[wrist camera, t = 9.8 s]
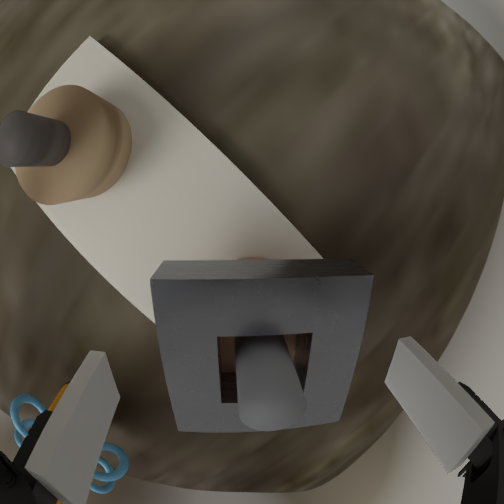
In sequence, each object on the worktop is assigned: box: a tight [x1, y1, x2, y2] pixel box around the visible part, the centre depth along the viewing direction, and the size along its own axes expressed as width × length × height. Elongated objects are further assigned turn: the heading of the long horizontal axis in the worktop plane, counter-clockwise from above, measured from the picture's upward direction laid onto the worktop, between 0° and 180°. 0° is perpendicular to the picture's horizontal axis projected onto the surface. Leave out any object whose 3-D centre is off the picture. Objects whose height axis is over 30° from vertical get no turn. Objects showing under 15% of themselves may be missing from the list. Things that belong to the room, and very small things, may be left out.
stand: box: [0, 85, 132, 205], centre depth 11 cm, size 6×6×8 cm
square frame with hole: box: [150, 258, 374, 432], centre depth 13 cm, size 9×9×2 cm
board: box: [11, 36, 323, 323], centre depth 16 cm, size 28×11×1 cm, turn 44°
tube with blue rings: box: [10, 383, 129, 504], centre depth 13 cm, size 12×10×15 cm
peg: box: [220, 257, 307, 431], centre depth 13 cm, size 7×7×9 cm
